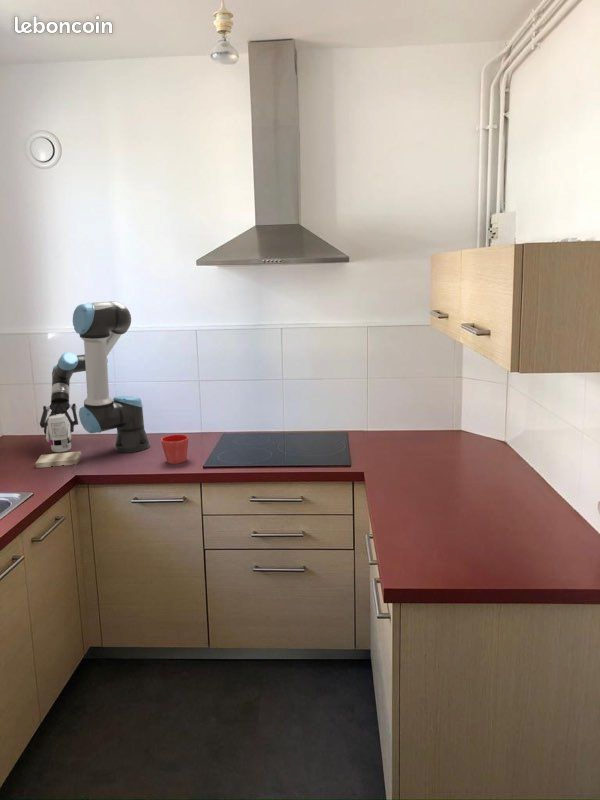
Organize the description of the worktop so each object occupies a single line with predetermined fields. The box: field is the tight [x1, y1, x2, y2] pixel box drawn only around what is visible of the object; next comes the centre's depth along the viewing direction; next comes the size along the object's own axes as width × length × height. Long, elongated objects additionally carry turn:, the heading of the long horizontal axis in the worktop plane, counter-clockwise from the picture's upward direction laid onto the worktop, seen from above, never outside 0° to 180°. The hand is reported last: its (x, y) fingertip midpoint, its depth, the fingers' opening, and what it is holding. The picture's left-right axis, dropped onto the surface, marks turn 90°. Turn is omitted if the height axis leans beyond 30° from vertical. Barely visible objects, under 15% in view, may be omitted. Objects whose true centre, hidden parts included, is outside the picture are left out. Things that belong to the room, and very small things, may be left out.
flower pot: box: [160, 434, 190, 465], centre depth 251 cm, size 11×11×10 cm
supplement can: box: [47, 414, 72, 453], centre depth 268 cm, size 8×8×15 cm
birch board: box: [34, 451, 82, 469], centre depth 257 cm, size 16×12×2 cm
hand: (58, 439), depth 265 cm, fingers closed on supplement can, 8 cm apart
